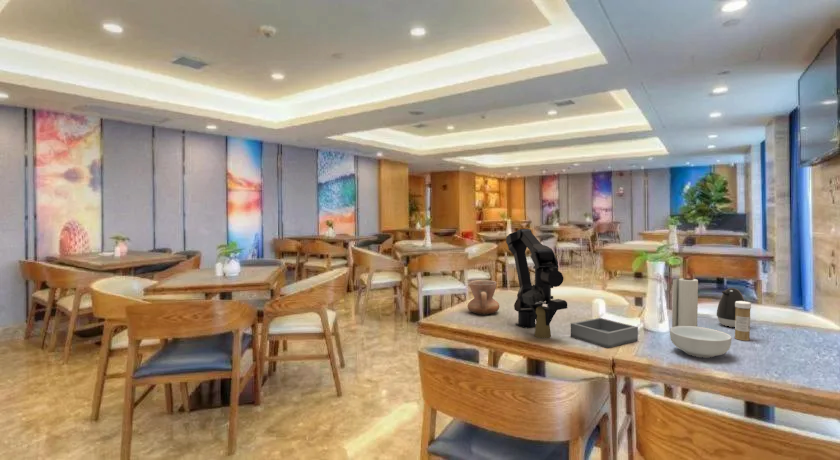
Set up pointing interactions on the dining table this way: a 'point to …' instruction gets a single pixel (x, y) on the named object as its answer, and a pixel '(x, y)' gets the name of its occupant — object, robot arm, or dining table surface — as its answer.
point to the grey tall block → (685, 302)
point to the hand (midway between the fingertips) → (542, 324)
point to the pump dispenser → (728, 306)
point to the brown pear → (541, 324)
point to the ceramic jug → (483, 297)
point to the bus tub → (604, 332)
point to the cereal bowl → (700, 341)
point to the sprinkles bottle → (742, 320)
